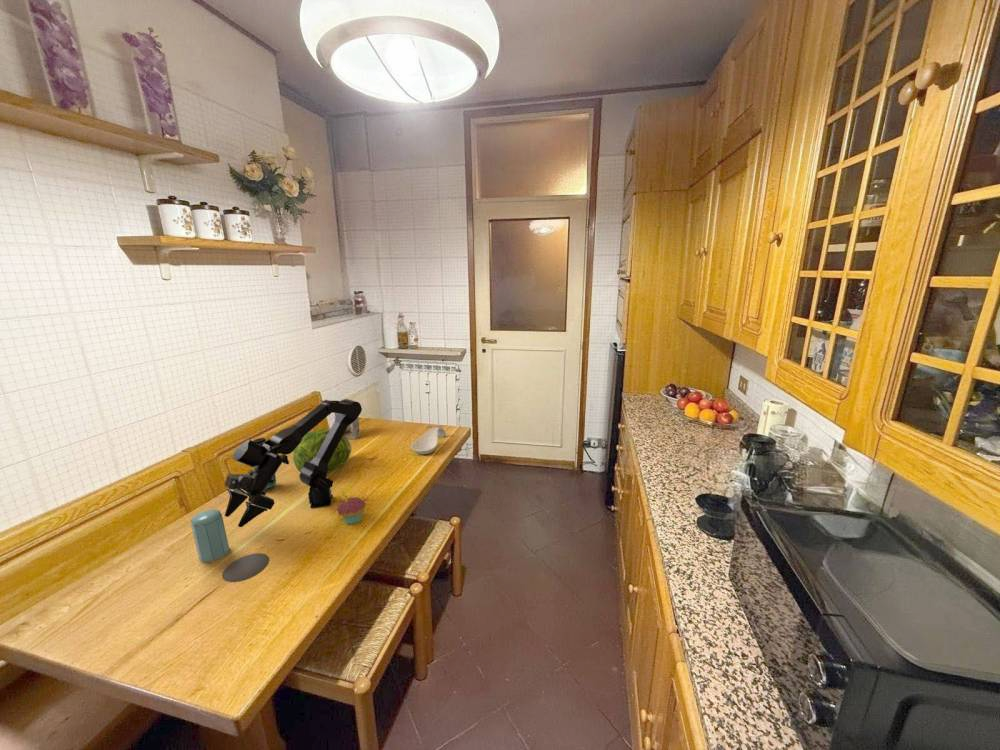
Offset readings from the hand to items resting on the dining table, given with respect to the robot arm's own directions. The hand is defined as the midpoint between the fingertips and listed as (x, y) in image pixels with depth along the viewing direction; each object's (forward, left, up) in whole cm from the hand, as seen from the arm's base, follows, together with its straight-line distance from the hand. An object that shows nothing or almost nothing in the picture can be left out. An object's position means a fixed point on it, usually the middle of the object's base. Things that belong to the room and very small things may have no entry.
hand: (232, 521), depth 118 cm
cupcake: (-33, -4, -8) cm, 34 cm away
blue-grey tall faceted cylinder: (+5, +4, -8) cm, 10 cm away
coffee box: (-23, -78, -8) cm, 81 cm away
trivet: (-7, +12, -8) cm, 16 cm away
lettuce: (-18, -45, -8) cm, 49 cm away
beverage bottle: (+1, -34, -8) cm, 35 cm away
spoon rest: (-61, -55, -8) cm, 83 cm away
